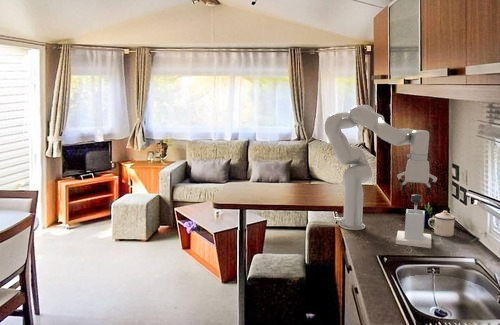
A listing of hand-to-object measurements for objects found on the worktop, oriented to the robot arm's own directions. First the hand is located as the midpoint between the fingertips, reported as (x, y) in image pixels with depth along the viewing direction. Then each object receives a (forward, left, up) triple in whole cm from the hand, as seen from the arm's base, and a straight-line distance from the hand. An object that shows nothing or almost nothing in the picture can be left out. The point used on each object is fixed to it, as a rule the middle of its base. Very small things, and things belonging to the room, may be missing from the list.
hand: (415, 194), depth 204 cm
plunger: (0, 0, -18) cm, 18 cm away
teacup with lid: (+12, +17, -23) cm, 31 cm away
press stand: (0, 0, -22) cm, 22 cm away
